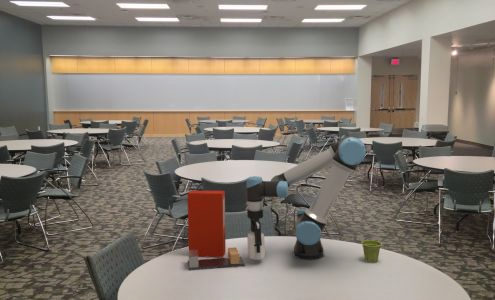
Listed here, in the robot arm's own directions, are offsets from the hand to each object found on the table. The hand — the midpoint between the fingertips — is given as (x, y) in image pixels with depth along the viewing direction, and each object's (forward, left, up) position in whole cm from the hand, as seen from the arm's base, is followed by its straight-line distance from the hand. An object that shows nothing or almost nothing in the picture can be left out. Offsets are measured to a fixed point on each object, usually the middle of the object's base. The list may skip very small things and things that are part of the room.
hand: (256, 255), depth 224 cm
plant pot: (-55, +9, -3) cm, 55 cm away
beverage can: (0, 0, -1) cm, 1 cm away
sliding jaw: (+11, 0, -2) cm, 11 cm away
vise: (+19, 0, -3) cm, 20 cm away
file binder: (+22, -15, -3) cm, 27 cm away
